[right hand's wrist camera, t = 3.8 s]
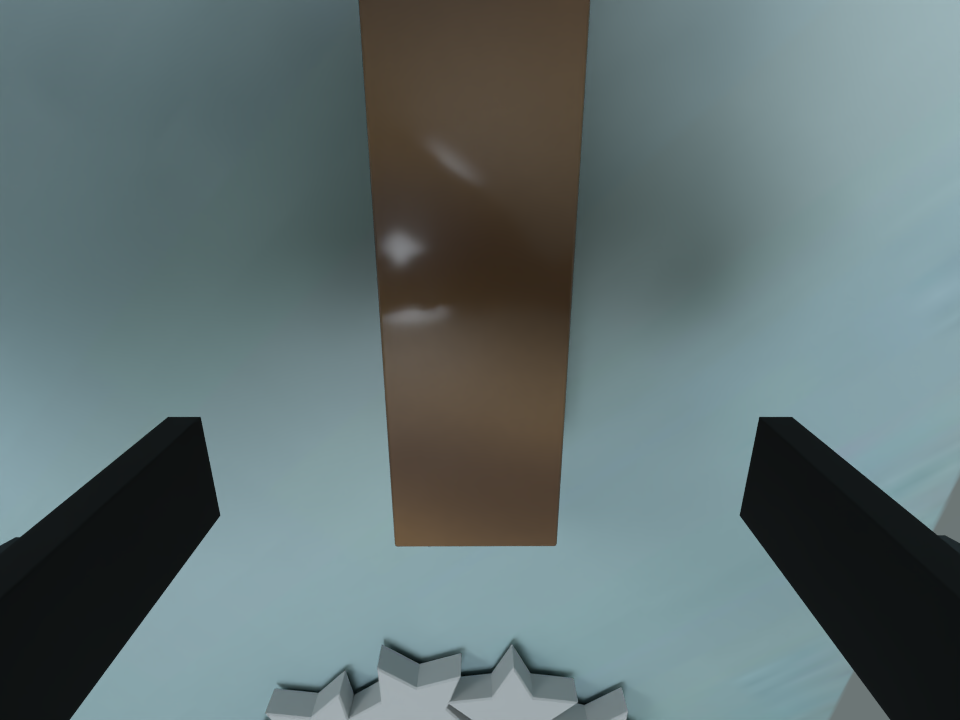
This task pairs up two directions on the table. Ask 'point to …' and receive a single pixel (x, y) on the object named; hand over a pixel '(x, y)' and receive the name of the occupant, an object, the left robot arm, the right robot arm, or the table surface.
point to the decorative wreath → (447, 695)
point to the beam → (475, 256)
